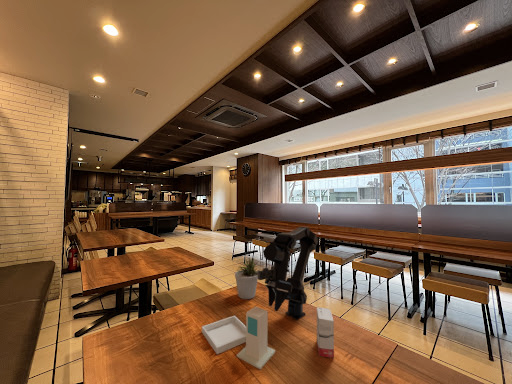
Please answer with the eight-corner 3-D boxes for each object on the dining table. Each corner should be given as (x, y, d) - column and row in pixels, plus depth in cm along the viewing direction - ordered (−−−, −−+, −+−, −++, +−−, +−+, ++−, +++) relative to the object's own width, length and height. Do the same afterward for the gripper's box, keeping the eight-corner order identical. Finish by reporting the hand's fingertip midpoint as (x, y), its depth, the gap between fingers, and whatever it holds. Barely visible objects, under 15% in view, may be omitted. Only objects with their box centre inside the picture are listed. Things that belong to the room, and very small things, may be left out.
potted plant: (260, 301, 105) (261, 261, 106) (233, 301, 106) (233, 260, 106) (260, 291, 118) (261, 254, 119) (236, 290, 118) (236, 254, 119)
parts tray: (234, 321, 88) (234, 315, 88) (253, 340, 76) (253, 333, 76) (201, 333, 80) (201, 326, 80) (216, 355, 68) (217, 347, 69)
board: (253, 342, 75) (253, 339, 75) (275, 353, 70) (275, 350, 70) (236, 358, 68) (236, 354, 68) (260, 371, 62) (260, 367, 63)
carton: (254, 345, 72) (255, 306, 73) (267, 351, 69) (267, 310, 70) (245, 354, 68) (246, 312, 68) (258, 360, 65) (258, 317, 66)
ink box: (334, 359, 68) (334, 321, 68) (318, 356, 69) (318, 319, 69) (330, 341, 76) (330, 307, 77) (316, 339, 77) (316, 306, 77)
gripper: (257, 260, 92) (248, 299, 87) (266, 259, 75) (256, 308, 69) (281, 266, 93) (274, 305, 88) (296, 267, 76) (288, 316, 70)
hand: (272, 308), depth 79 cm, fingers open, 9 cm apart
